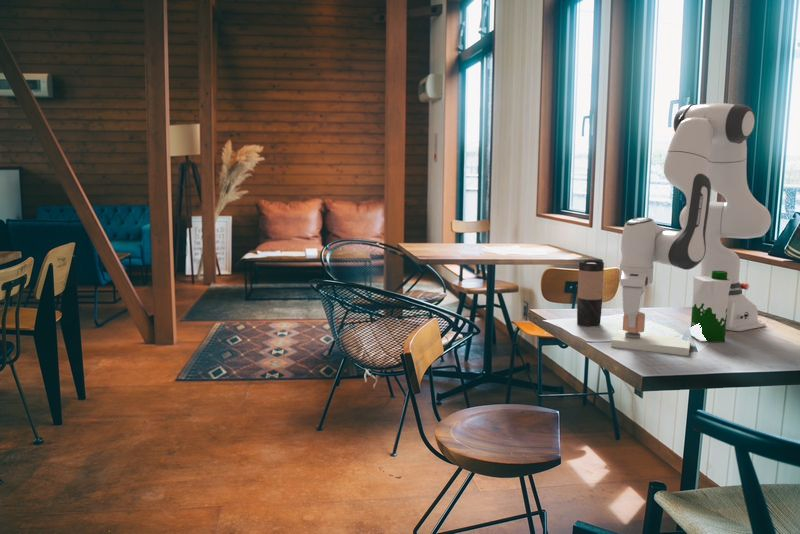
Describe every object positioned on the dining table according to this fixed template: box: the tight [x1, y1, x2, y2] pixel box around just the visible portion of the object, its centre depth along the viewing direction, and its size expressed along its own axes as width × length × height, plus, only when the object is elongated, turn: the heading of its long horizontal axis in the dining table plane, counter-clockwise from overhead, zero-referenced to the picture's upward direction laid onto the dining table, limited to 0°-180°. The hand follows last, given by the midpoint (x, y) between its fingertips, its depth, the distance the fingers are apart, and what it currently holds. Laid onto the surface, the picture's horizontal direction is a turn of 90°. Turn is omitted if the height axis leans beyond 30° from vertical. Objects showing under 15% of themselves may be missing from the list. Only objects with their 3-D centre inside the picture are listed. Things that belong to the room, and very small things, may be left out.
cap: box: [622, 311, 646, 333], centre depth 192 cm, size 6×6×5 cm
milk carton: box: [690, 271, 731, 343], centre depth 197 cm, size 9×9×20 cm
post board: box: [610, 330, 691, 356], centre depth 190 cm, size 20×12×8 cm, turn 65°
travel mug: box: [576, 260, 605, 327], centre depth 215 cm, size 8×8×20 cm
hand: (633, 324), depth 192 cm, fingers closed on cap, 6 cm apart
